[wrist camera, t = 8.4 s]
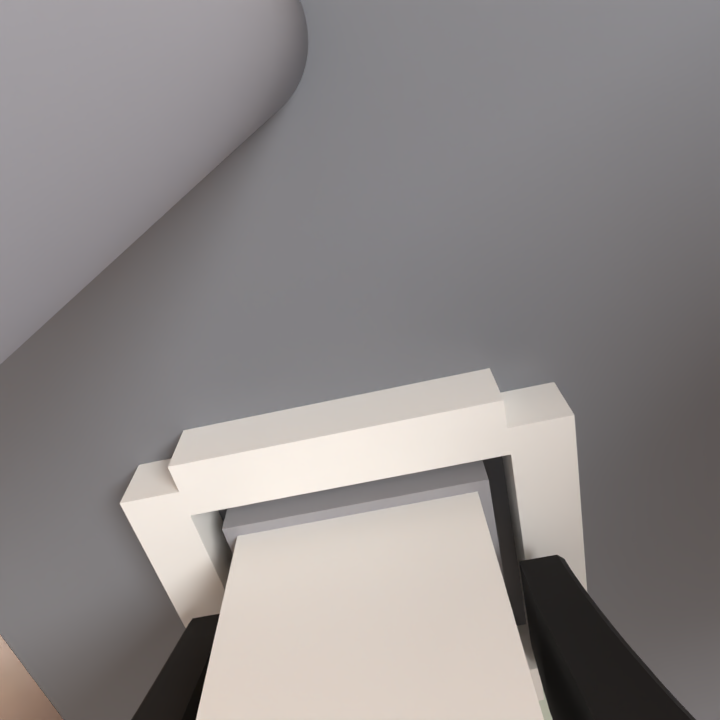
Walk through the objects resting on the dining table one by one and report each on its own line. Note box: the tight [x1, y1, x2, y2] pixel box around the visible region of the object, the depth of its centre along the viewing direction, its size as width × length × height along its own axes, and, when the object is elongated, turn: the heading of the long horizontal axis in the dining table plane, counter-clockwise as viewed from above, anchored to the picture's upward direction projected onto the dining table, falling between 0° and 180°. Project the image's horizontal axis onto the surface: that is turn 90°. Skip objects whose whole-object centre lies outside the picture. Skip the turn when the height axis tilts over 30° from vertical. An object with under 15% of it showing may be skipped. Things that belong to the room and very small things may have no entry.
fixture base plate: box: [0, 0, 720, 720], centre depth 12 cm, size 16×24×2 cm, turn 13°
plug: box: [196, 460, 544, 720], centre depth 9 cm, size 4×4×6 cm
